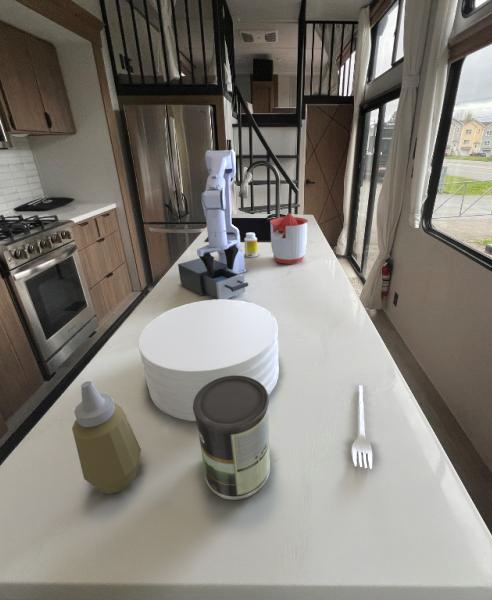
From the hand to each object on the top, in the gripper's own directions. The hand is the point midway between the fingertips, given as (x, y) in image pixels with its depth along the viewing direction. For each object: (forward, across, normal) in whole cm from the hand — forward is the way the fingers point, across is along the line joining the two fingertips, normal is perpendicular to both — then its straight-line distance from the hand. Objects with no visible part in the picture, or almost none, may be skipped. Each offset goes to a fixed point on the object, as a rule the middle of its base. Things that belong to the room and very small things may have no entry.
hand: (220, 272), depth 106 cm
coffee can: (+8, -37, -55) cm, 67 cm away
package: (+6, 0, 0) cm, 6 cm away
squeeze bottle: (+8, -51, -43) cm, 67 cm away
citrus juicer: (+8, +40, +8) cm, 42 cm away
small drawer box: (+8, 0, +11) cm, 14 cm away
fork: (+8, -16, -64) cm, 66 cm away
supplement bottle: (+8, +34, +25) cm, 43 cm away
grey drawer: (+7, 0, -2) cm, 7 cm away
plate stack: (+8, -26, -33) cm, 43 cm away
